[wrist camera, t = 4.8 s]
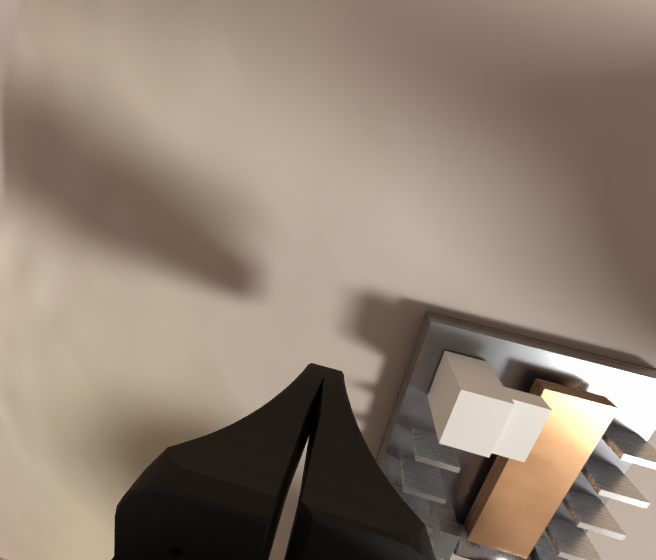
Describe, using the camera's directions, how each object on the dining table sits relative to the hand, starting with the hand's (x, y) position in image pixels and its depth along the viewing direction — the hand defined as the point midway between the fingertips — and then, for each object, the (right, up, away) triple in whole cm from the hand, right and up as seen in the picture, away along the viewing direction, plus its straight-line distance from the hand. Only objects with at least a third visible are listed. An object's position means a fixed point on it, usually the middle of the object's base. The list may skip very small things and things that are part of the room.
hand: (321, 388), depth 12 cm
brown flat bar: (+10, -5, +4) cm, 12 cm away
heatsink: (+9, -5, +5) cm, 11 cm away
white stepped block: (+6, -1, +3) cm, 7 cm away
